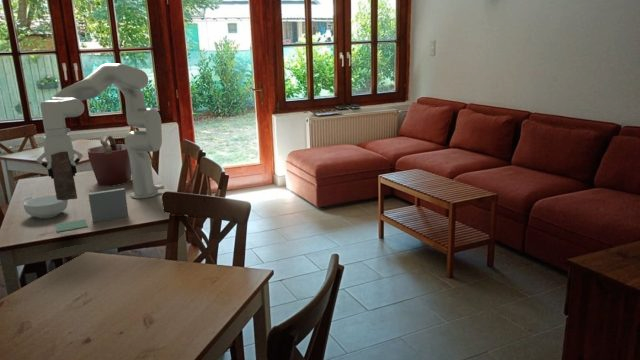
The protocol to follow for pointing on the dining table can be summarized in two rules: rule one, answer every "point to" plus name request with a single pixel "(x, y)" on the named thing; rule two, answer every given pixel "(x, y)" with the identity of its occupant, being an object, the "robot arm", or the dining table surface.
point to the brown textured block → (63, 177)
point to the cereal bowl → (45, 206)
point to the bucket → (110, 162)
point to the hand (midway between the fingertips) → (63, 176)
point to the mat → (71, 225)
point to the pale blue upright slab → (108, 204)
